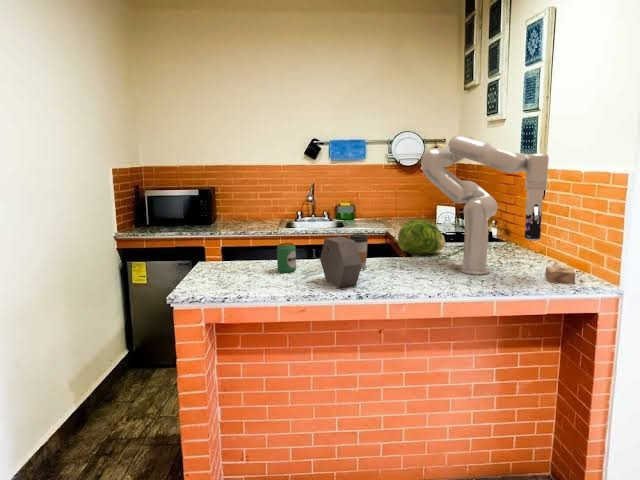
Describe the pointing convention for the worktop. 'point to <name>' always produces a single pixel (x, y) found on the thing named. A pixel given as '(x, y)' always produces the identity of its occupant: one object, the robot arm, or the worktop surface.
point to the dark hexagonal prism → (340, 261)
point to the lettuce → (420, 238)
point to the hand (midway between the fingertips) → (532, 232)
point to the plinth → (560, 275)
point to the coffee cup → (361, 247)
